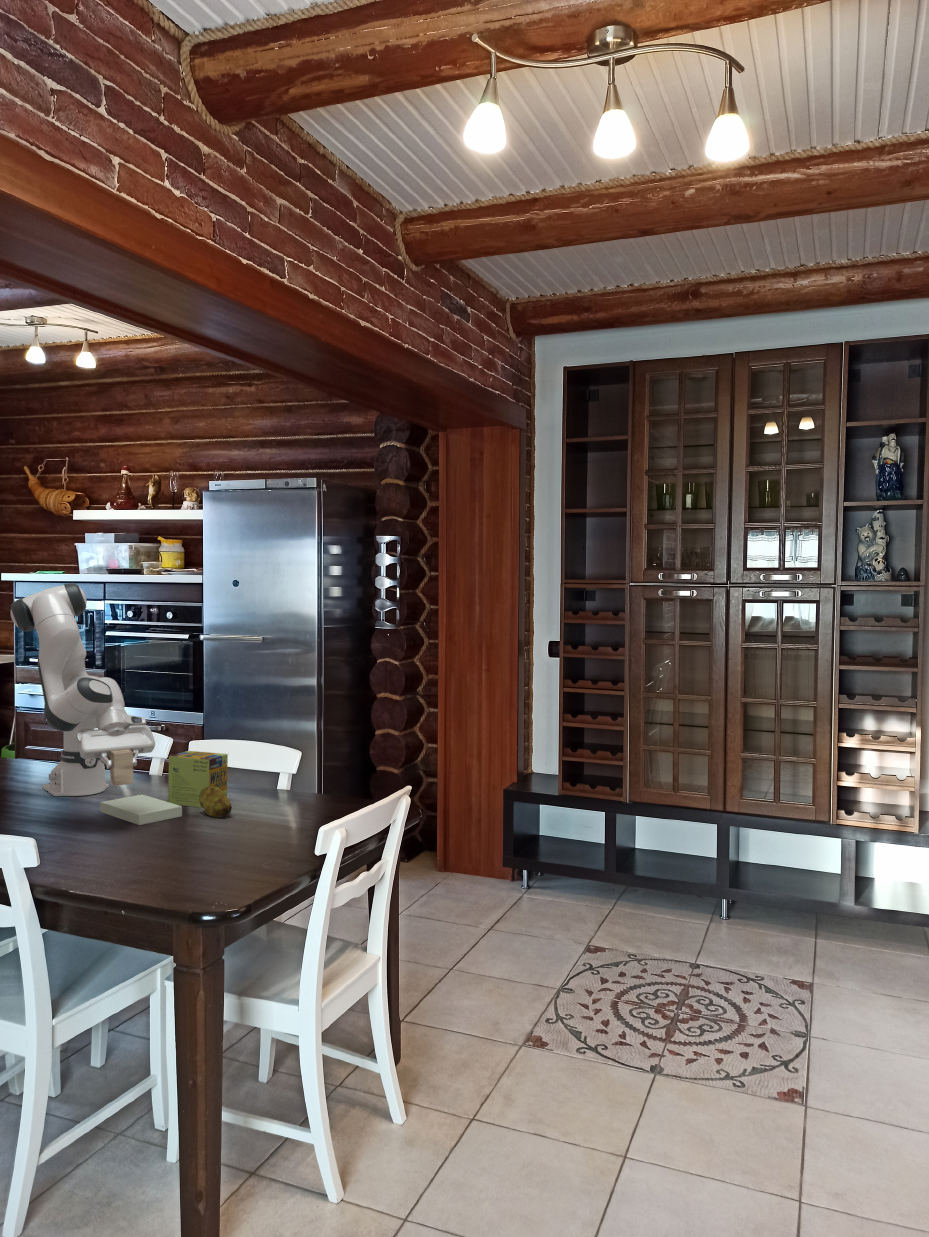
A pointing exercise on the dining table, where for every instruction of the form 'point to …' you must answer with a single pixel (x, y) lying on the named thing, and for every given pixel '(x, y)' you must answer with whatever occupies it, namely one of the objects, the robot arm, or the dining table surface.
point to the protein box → (195, 776)
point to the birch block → (121, 767)
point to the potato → (215, 802)
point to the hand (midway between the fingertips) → (122, 766)
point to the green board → (141, 809)
